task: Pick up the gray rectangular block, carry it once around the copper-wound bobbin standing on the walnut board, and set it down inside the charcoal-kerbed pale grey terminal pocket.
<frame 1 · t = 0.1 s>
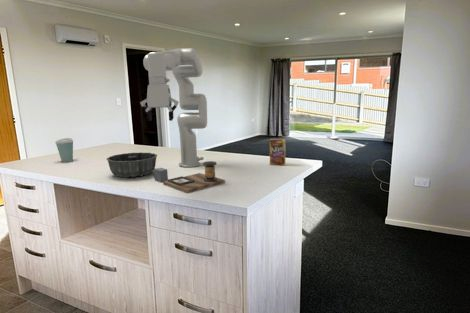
hand: (160, 120, 145), 31 cm above the table, tool pointing down, fingers open, 9 cm apart
disposable coffee cup: (66, 161, 216), on the table
candy box: (277, 164, 191), on the table
bundt pan: (133, 174, 178), on the table
winding board: (194, 183, 155), on the table
gray rectangular block: (161, 180, 162), on the table
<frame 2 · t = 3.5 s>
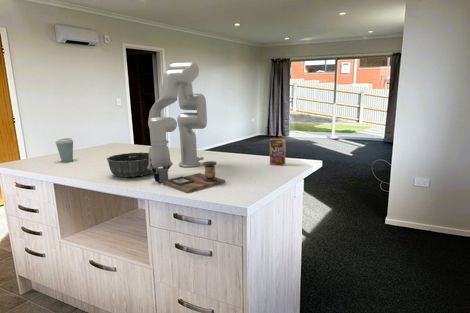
hand: (161, 179, 162), 1 cm above the table, tool pointing down, fingers closed on gray rectangular block, 3 cm apart
gray rectangular block: (161, 180, 162), on the table, touching gripper
everything else where it was.
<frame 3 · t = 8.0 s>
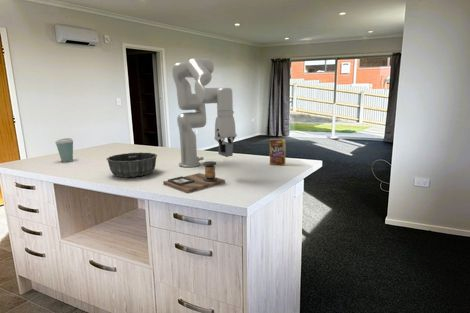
hand: (226, 151, 159), 14 cm above the table, tool pointing down, fingers closed on gray rectangular block, 3 cm apart
gray rectangular block: (225, 154, 160), point 12 cm above the table, tilted 6°, touching gripper
everything else where it was.
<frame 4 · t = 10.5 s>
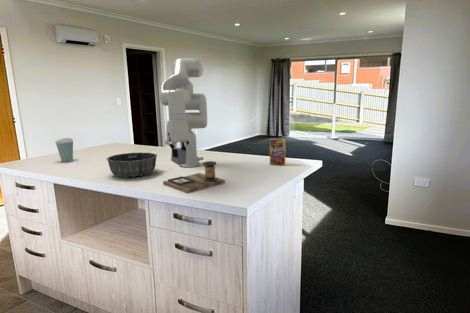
hand: (179, 156, 151), 14 cm above the table, tool pointing down, fingers closed on gray rectangular block, 3 cm apart
gray rectangular block: (178, 162, 153), point 11 cm above the table, tilted 12°, touching gripper
everything else where it was.
when the fingers open (4 cm above the table, at t = 12.6 s): gray rectangular block stays where it is, resting on winding board.
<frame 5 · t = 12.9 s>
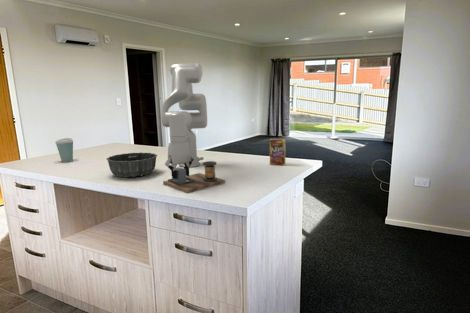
hand: (180, 176, 153), 4 cm above the table, tool pointing down, fingers open, 6 cm apart
gray rectangular block: (179, 181, 154), point 2 cm above the table, touching winding board
everything else where it was.
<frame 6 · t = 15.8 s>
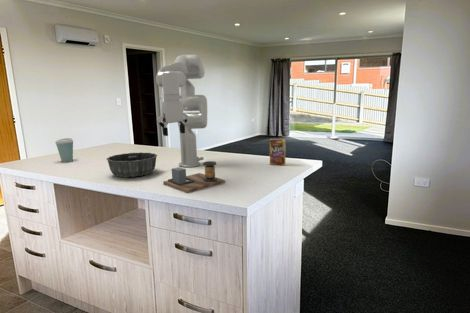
hand: (174, 134, 156), 24 cm above the table, tool pointing down, fingers open, 9 cm apart
nothing on the table moved.
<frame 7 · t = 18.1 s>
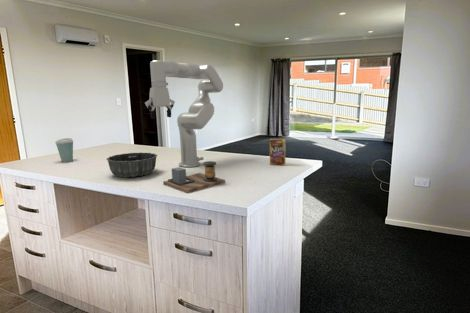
hand: (161, 117, 172), 30 cm above the table, tool pointing down, fingers open, 9 cm apart
nothing on the table moved.
at the end: gray rectangular block 1.2 cm from the target spot on the winding board, point 1.7 cm above the winding board's base; the gripper is holding nothing; gray rectangular block tilted 0° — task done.
